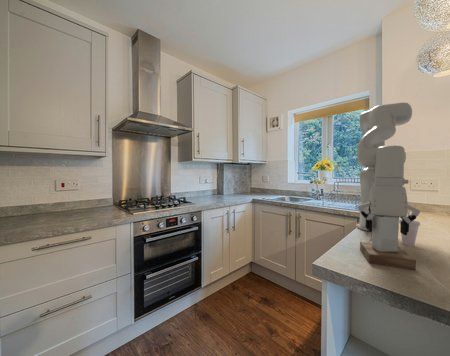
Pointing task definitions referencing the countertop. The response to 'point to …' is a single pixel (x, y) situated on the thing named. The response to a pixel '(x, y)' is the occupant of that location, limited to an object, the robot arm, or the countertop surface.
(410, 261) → the podium
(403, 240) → the smoothie
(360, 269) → the countertop surface
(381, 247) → the skincare box
